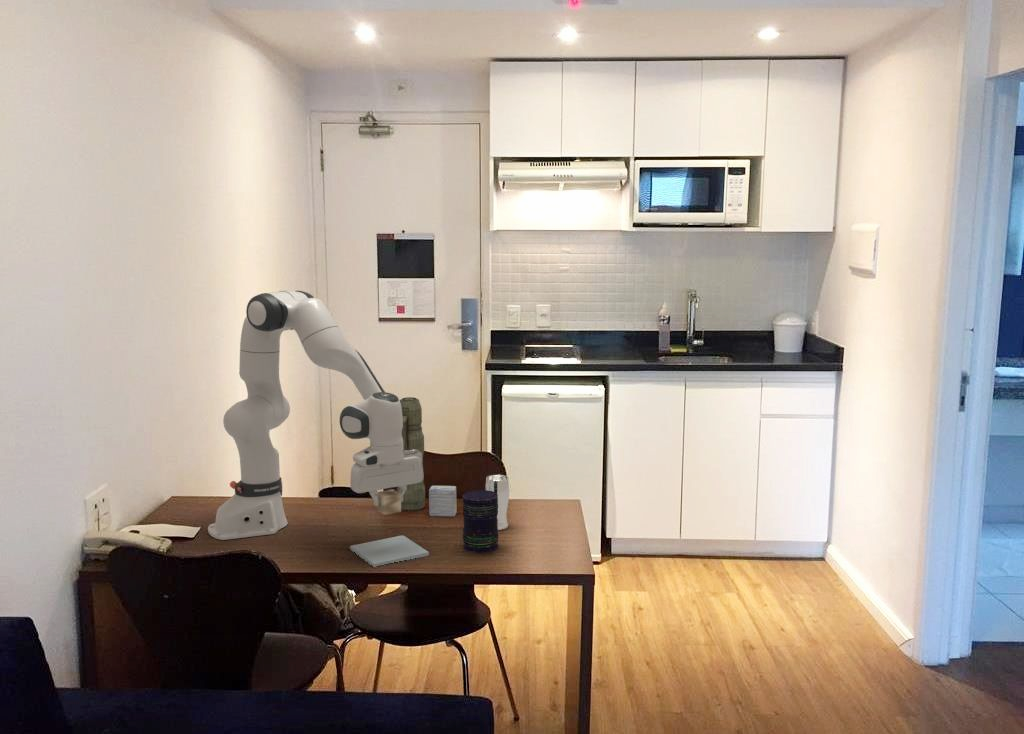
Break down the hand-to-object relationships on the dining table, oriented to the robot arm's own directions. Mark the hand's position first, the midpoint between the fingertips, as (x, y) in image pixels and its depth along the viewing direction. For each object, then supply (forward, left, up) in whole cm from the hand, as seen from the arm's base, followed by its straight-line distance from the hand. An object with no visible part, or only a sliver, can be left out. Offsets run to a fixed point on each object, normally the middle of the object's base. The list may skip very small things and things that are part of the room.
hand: (388, 503), depth 238 cm
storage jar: (+23, -10, -14) cm, 29 cm away
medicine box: (+28, +21, -14) cm, 38 cm away
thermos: (+23, +33, -14) cm, 43 cm away
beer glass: (+36, +2, -14) cm, 39 cm away
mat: (0, 0, -14) cm, 14 cm away
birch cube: (0, 0, -2) cm, 2 cm away
